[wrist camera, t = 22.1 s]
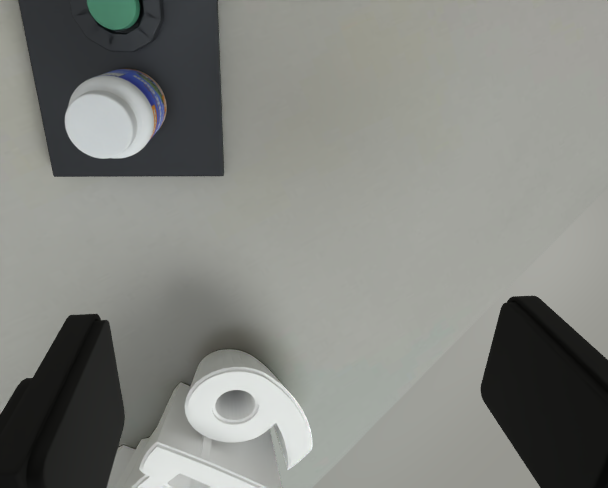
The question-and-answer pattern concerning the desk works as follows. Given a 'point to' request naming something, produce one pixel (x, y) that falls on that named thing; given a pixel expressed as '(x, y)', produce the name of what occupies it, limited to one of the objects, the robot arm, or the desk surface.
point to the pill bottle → (115, 113)
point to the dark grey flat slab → (139, 56)
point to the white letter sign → (219, 431)
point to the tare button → (114, 13)
